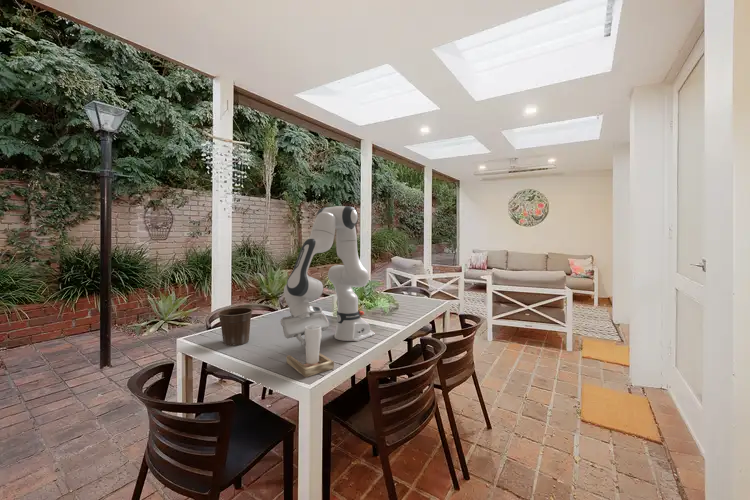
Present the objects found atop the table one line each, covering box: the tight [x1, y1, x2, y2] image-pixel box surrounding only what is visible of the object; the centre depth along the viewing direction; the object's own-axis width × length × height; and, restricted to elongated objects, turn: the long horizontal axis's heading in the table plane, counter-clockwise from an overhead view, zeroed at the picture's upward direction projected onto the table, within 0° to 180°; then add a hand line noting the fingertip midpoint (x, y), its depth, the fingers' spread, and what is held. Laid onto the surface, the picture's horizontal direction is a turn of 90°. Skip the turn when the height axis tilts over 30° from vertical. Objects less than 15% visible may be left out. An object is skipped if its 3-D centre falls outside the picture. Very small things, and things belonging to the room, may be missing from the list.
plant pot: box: [217, 307, 253, 347], centre depth 161 cm, size 16×16×16 cm
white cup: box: [304, 325, 322, 364], centre depth 132 cm, size 7×7×15 cm
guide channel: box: [286, 352, 335, 378], centre depth 134 cm, size 13×18×3 cm
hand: (312, 342), depth 132 cm, fingers closed on white cup, 6 cm apart
